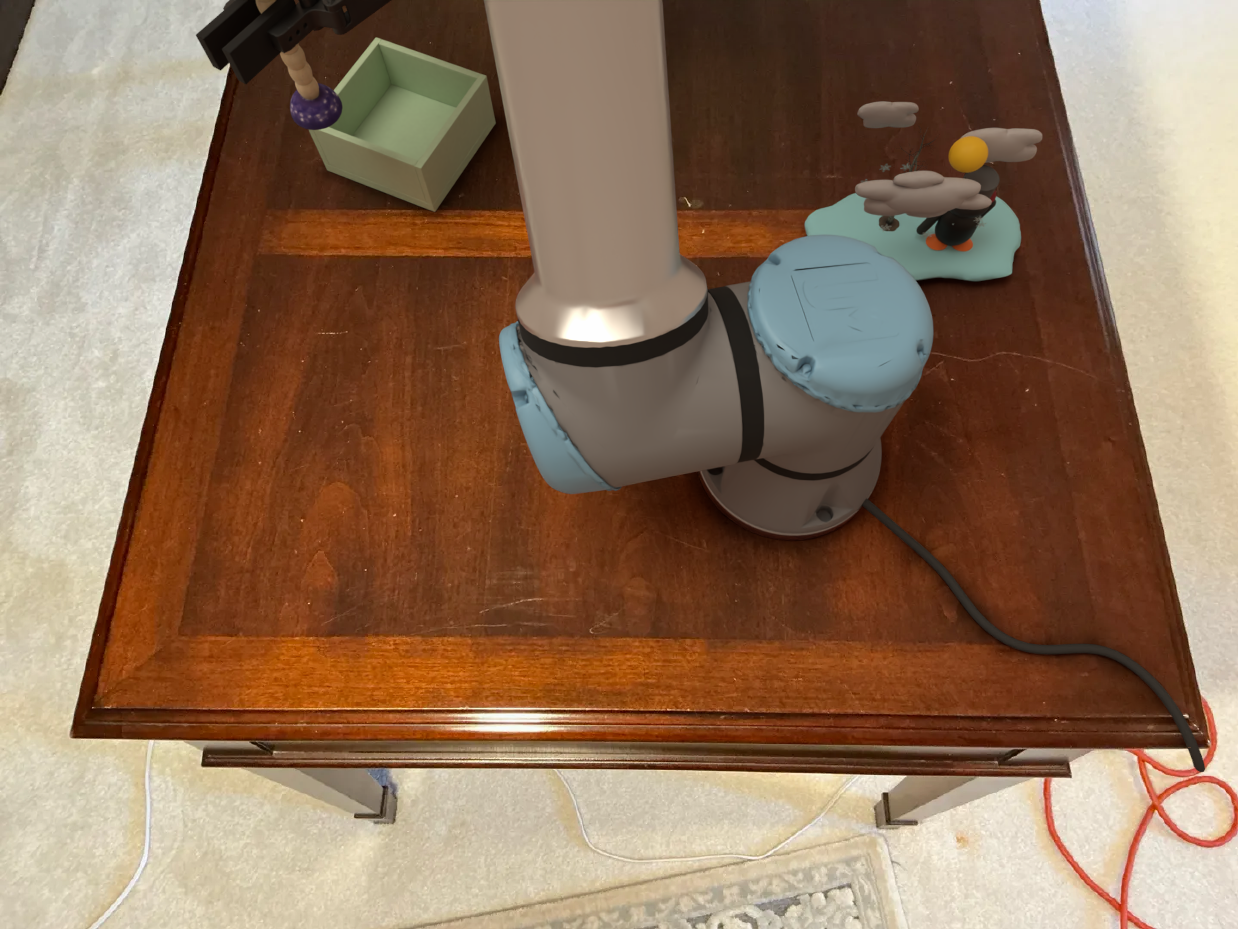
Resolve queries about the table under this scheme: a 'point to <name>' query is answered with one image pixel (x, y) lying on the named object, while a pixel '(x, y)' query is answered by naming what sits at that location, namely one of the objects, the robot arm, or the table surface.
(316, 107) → the toy lamp
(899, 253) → the penguin figurine
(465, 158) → the tote
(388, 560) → the table surface
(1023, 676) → the table surface
